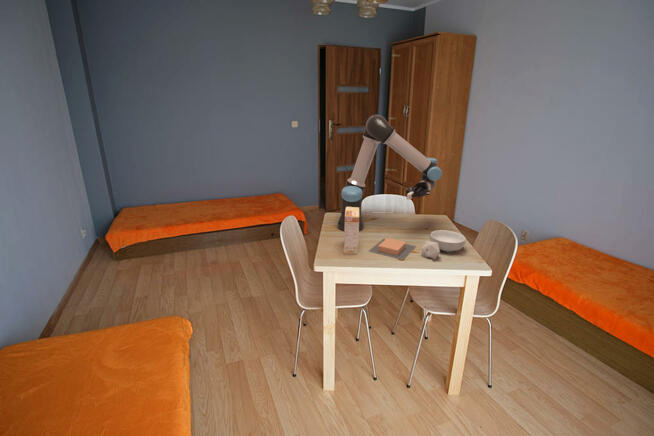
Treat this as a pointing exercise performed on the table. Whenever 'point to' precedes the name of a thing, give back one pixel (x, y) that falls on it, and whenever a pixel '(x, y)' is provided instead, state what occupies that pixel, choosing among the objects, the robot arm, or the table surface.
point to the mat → (401, 255)
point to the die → (431, 249)
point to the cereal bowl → (448, 240)
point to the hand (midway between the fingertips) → (408, 196)
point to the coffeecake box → (351, 230)
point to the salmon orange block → (391, 246)
